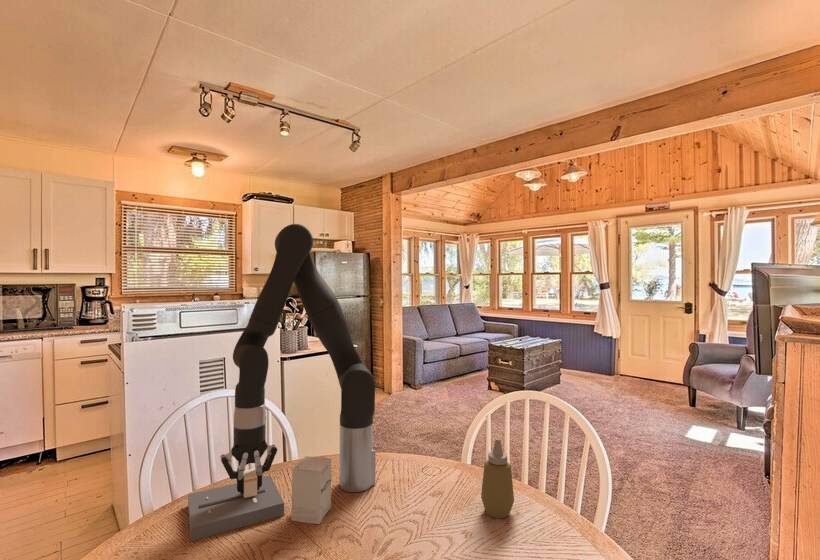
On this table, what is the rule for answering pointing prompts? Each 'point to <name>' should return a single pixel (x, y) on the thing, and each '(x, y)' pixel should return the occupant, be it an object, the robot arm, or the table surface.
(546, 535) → the table surface
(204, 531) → the console
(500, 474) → the squeeze bottle
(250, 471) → the fader
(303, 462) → the supplement box
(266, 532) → the table surface
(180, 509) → the table surface
